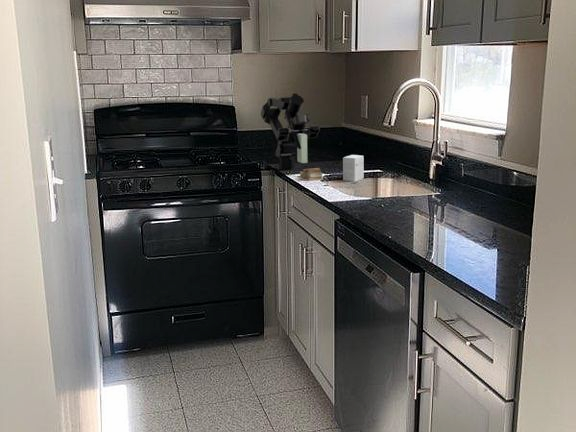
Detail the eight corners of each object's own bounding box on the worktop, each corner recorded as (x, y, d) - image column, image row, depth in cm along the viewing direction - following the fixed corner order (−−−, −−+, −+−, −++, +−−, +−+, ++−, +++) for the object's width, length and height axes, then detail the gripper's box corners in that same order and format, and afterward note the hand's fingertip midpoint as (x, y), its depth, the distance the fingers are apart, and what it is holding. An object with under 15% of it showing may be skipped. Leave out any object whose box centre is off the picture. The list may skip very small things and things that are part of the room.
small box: (352, 179, 272) (352, 154, 269) (363, 180, 269) (364, 155, 266) (342, 182, 265) (342, 157, 263) (354, 183, 262) (354, 158, 260)
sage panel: (297, 161, 280) (296, 133, 277) (303, 160, 281) (302, 133, 278) (301, 163, 276) (301, 135, 273) (307, 162, 277) (306, 134, 274)
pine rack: (297, 178, 277) (297, 166, 275) (312, 176, 279) (312, 165, 278) (308, 183, 266) (308, 170, 264) (323, 181, 268) (323, 169, 267)
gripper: (277, 109, 273) (287, 138, 266) (318, 106, 280) (328, 135, 272) (271, 126, 282) (281, 154, 275) (311, 123, 289) (321, 151, 281)
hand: (303, 148), depth 276 cm, fingers closed on sage panel, 3 cm apart
